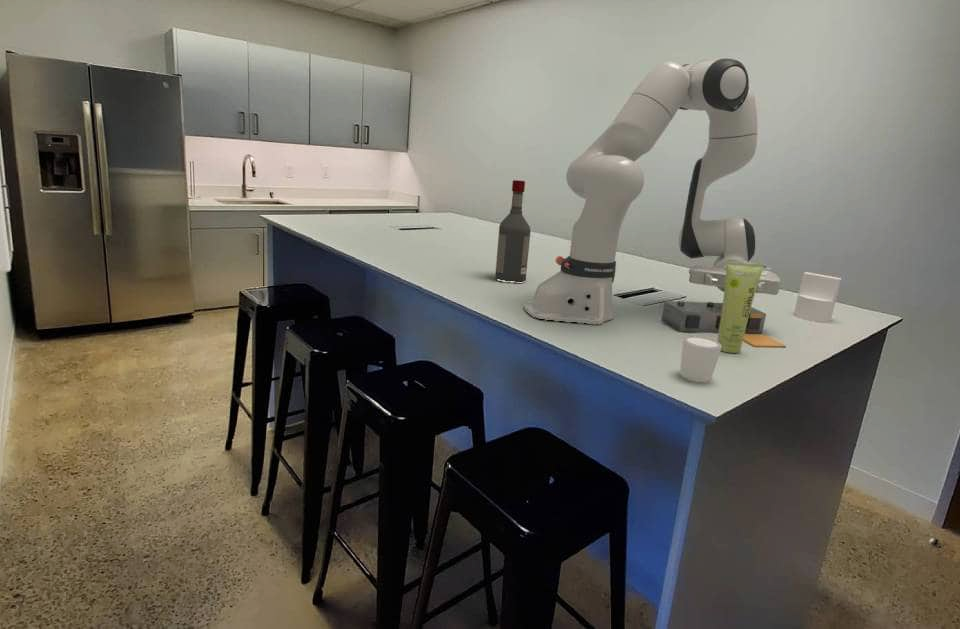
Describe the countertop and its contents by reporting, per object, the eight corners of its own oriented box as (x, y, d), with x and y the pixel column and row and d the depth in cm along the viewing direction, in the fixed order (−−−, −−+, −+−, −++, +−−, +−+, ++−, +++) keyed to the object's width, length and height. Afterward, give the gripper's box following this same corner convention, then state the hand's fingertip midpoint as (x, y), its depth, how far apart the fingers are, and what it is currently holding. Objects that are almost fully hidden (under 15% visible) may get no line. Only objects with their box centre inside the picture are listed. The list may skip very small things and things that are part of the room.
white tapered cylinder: (711, 387, 101) (718, 351, 99) (672, 377, 105) (679, 341, 103) (717, 376, 107) (725, 341, 105) (681, 366, 110) (687, 333, 108)
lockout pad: (754, 347, 126) (754, 345, 126) (733, 335, 134) (733, 333, 133) (785, 347, 127) (786, 345, 127) (763, 335, 135) (763, 334, 135)
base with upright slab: (789, 316, 155) (799, 274, 152) (798, 311, 162) (808, 270, 158) (826, 324, 149) (837, 281, 146) (833, 319, 156) (844, 277, 152)
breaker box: (680, 332, 133) (684, 309, 131) (661, 320, 142) (665, 298, 140) (763, 334, 136) (768, 312, 135) (740, 322, 145) (744, 301, 144)
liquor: (495, 282, 169) (504, 180, 160) (495, 275, 177) (502, 178, 169) (525, 284, 169) (535, 182, 160) (523, 277, 178) (533, 181, 169)
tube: (730, 355, 119) (749, 265, 113) (709, 348, 123) (726, 260, 117) (744, 351, 122) (764, 264, 117) (723, 344, 126) (741, 259, 121)
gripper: (691, 257, 145) (690, 266, 133) (778, 268, 138) (785, 279, 126) (686, 281, 147) (685, 292, 134) (772, 293, 140) (779, 305, 128)
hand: (734, 285), depth 130 cm, fingers open, 8 cm apart
